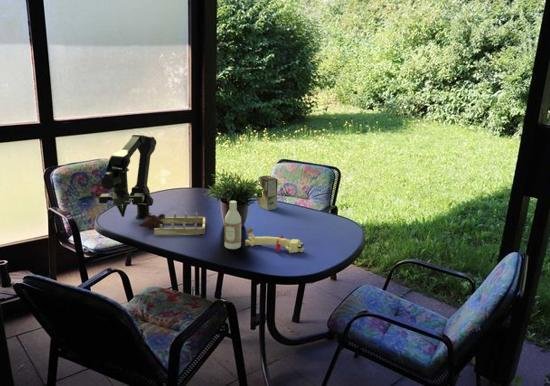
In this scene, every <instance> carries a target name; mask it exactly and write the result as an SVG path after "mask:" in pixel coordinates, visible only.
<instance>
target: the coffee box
mask: <svg viewBox="0 0 550 386" xmlns="http://www.w3.org/2000/svg"><path fill="white" fill-rule="evenodd" d="M259 181H260V185H261V187H262V188H263V190H264V191H263V196H262V197H261V198H258V197H257V200H258V201H257V202H258V203H257V206H258V207H260V208H262V209H264V210H265V211H270V210H271V211H272V210H276V209H277V208H278V205H277V204H278V179H277V178H275V177H273V176H270V175H261V176H258V182H259Z"/></svg>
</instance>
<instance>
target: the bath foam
mask: <svg viewBox="0 0 550 386" xmlns="http://www.w3.org/2000/svg"><path fill="white" fill-rule="evenodd" d="M237 203H238V202H237V201H236V200H230V201H229V209H228V211H227V213H226V215H225V217H224V247H225V248H226V249H229V250H237V249H239V248H241V246H242V216H241V215H240V213H239V211H238V210H237V208H238V206H237V205H238V204H237Z"/></svg>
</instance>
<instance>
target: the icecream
mask: <svg viewBox="0 0 550 386" xmlns="http://www.w3.org/2000/svg"><path fill="white" fill-rule="evenodd" d="M164 217H166V214H165V215H164V214H163V213H161V214H160V213H159V214H158V215H156V214H151V215H148V216H147V217H145V218H144V219H145V220H144V221H142V222H141V223H140V224H139V225H138V227H141V228H147V229H148V230H151V231H154V228H159V227H160V224H162V225H164V224H163V222H162V221H160V219H162V218H164Z"/></svg>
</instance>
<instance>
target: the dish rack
mask: <svg viewBox="0 0 550 386" xmlns="http://www.w3.org/2000/svg"><path fill="white" fill-rule="evenodd" d="M162 214H164V215H165V217H164V218H162V219H160V221H162V222H163V224H160V225H159V227H157V228H154V230H153V231H154V233H153V235H154V236H195V235H196V236H197V235H198V236H200V235H199V234H203V235H202V236H204V234H205V235H206V216H198V215H199V214H198V212H195V216H188V214H187V212H185V213H184V216H177V212H174V213H173V216H168V217H167V216H166V213H165V212H164V213H162ZM194 223H195V224H194ZM175 224H176V225H181V224H182V226H183V227H175ZM186 224H191V225H192V224H193V225H194V227H186ZM198 224H202V227H198V226H197V225H198ZM163 225H171V227H163Z"/></svg>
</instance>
